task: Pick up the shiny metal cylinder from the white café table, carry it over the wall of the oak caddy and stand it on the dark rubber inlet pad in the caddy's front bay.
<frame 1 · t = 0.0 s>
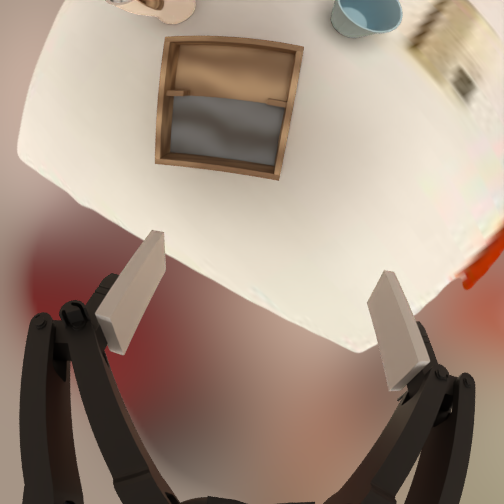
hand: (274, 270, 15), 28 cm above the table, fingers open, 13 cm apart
shiny metal cylinder: (176, 8, 26), on the table
cup: (349, 22, 25), on the table
caddy: (228, 101, 35), on the table
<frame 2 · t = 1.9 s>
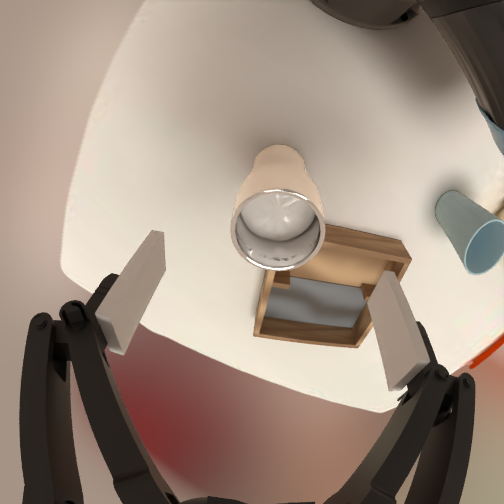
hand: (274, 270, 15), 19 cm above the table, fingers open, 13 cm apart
shiny metal cylinder: (279, 168, 31), on the table
cup: (449, 207, 30), on the table
caddy: (324, 282, 40), on the table
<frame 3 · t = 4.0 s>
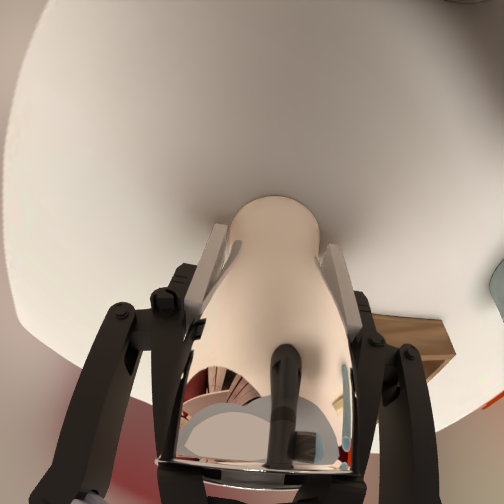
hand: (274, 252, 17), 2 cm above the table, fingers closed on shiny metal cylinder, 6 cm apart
shiny metal cylinder: (274, 235, 19), on the table, touching gripper
caddy: (334, 369, 27), on the table
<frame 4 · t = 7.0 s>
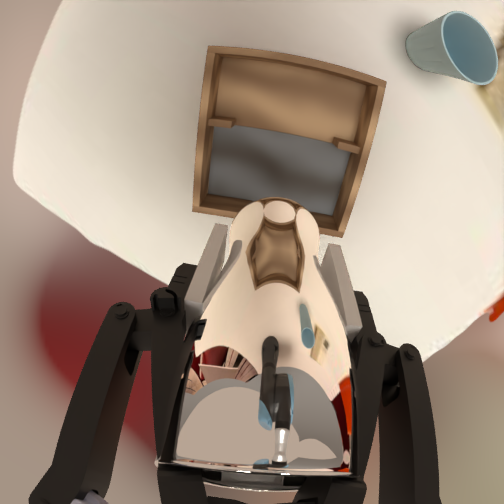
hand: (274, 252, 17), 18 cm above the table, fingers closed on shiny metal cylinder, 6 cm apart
shiny metal cylinder: (274, 235, 19), point 16 cm above the table, touching gripper
cup: (423, 51, 20), on the table
caddy: (283, 136, 30), on the table
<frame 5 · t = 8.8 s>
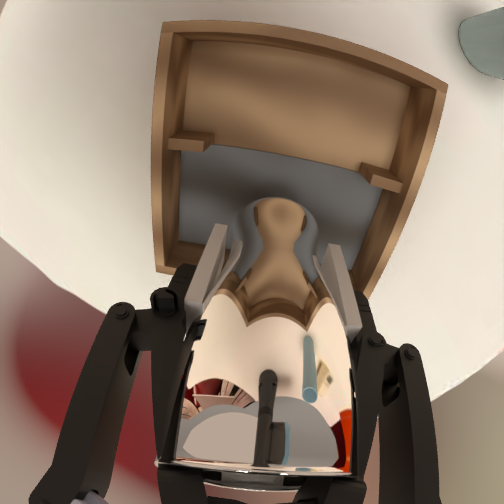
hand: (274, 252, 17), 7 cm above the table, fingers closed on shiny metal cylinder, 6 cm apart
shiny metal cylinder: (274, 235, 19), point 5 cm above the table, touching gripper
cup: (478, 46, 11), on the table
caddy: (286, 160, 20), on the table
when the fingers open (4 cm above the table, at t = 10.2 s): shiny metal cylinder drops 2 cm, resting on caddy.
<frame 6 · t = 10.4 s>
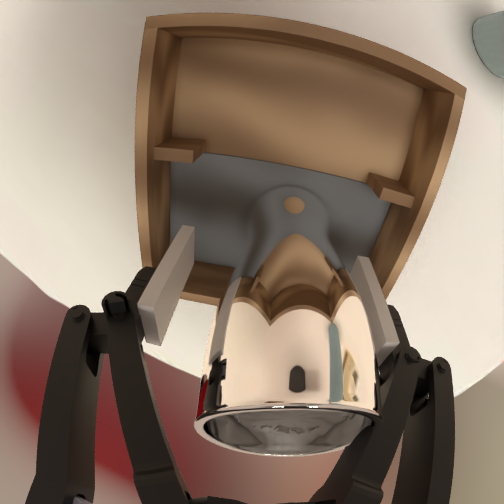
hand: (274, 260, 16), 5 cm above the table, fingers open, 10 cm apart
shiny metal cylinder: (288, 222, 20), point 1 cm above the table, touching caddy
cup: (492, 47, 9), on the table
caddy: (286, 170, 18), on the table
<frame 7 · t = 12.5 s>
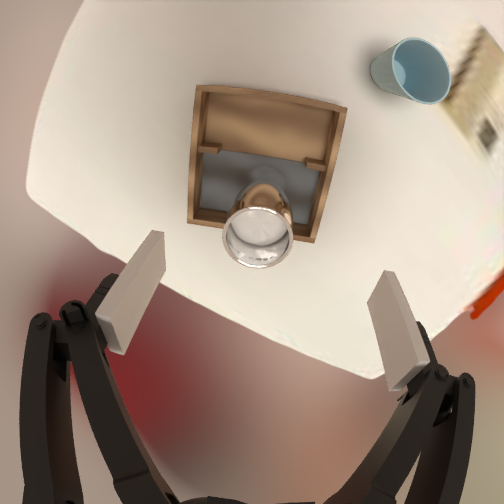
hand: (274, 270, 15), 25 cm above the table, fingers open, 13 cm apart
shiny metal cylinder: (264, 185, 38), point 1 cm above the table, touching caddy
cup: (387, 73, 27), on the table
caddy: (262, 158, 36), on the table
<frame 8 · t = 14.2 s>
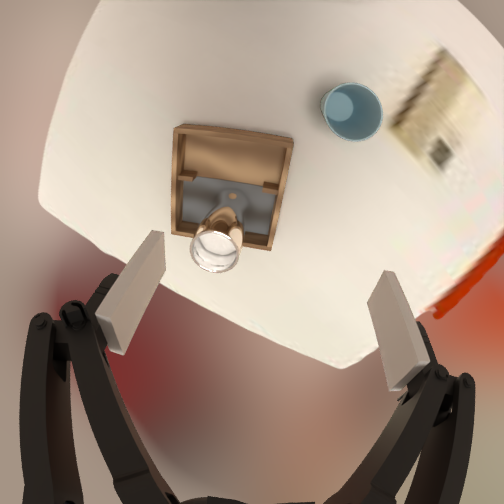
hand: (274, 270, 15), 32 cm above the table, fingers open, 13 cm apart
shiny metal cylinder: (232, 204, 47), point 1 cm above the table, touching caddy
cup: (337, 106, 37), on the table
caddy: (229, 182, 46), on the table
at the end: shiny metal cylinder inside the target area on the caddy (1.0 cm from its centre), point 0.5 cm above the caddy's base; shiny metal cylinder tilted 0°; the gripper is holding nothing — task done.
